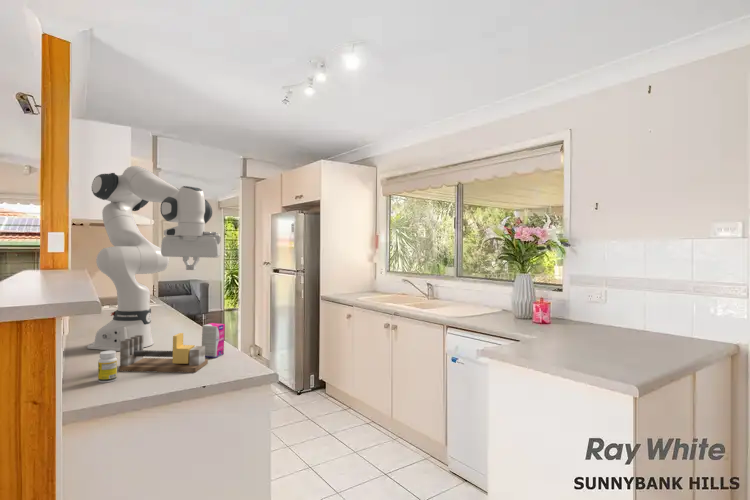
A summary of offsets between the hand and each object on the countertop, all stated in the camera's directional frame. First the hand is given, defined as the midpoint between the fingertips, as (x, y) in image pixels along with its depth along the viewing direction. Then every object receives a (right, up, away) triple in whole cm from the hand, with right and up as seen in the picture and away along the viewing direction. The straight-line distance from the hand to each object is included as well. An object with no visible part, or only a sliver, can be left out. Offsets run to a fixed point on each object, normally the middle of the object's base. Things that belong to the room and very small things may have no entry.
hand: (190, 269), depth 152 cm
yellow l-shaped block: (+4, -29, -14) cm, 32 cm away
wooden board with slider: (-2, -31, -14) cm, 34 cm away
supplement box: (+7, -32, +1) cm, 32 cm away
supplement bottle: (-12, -31, -28) cm, 44 cm away
